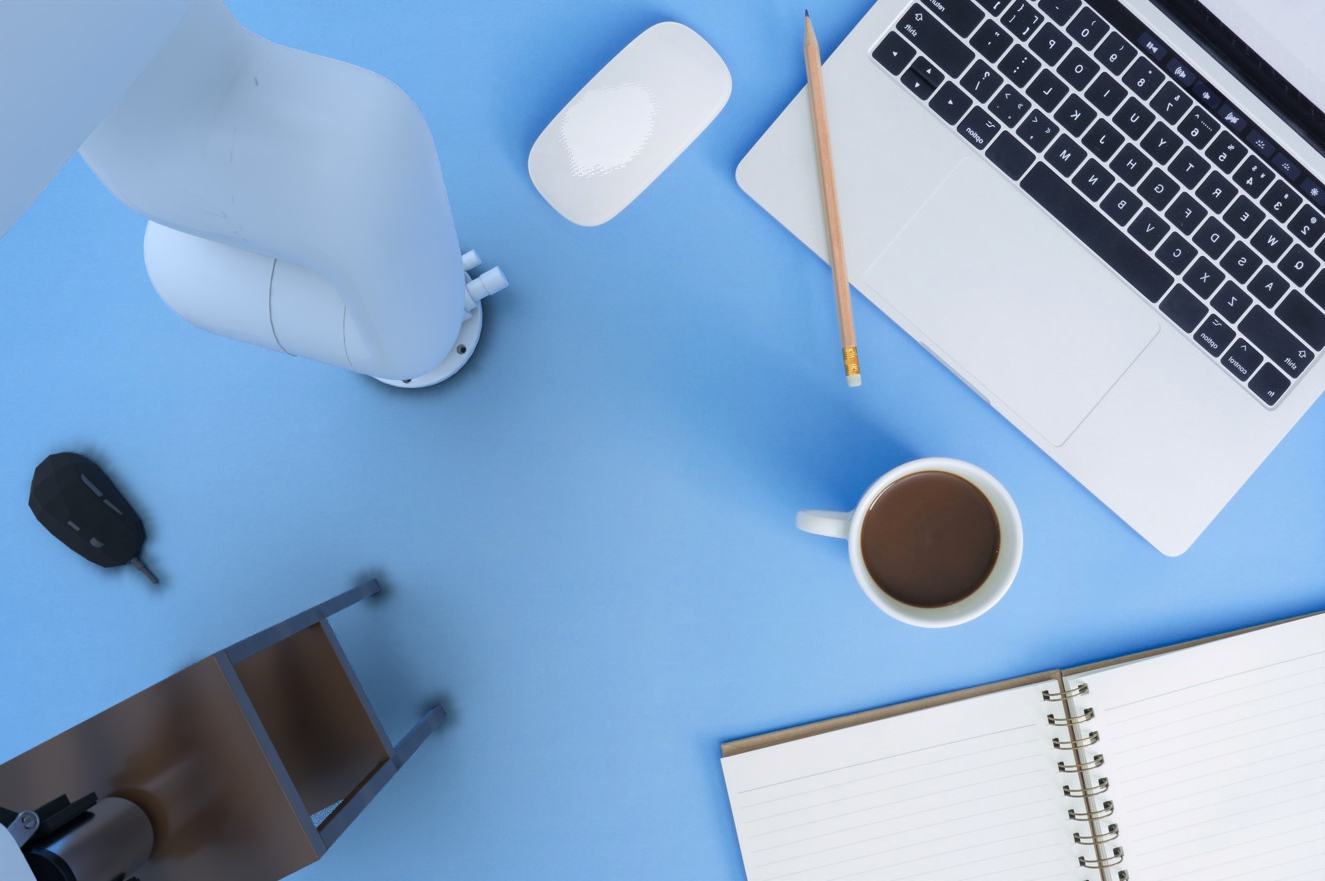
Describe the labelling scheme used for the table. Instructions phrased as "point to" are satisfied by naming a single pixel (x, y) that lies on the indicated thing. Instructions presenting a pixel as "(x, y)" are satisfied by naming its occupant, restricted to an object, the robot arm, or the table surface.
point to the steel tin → (94, 845)
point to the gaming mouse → (85, 511)
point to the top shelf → (181, 778)
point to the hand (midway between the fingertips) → (95, 850)
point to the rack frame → (322, 713)
